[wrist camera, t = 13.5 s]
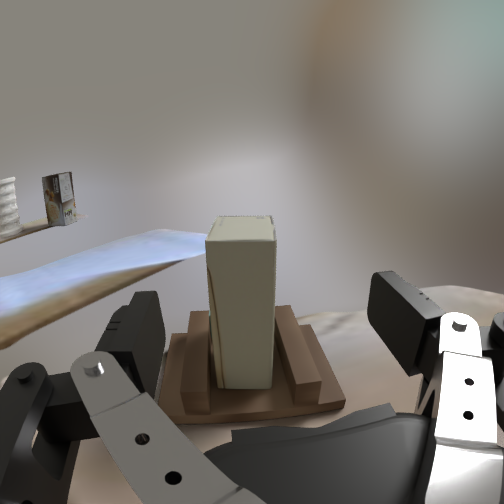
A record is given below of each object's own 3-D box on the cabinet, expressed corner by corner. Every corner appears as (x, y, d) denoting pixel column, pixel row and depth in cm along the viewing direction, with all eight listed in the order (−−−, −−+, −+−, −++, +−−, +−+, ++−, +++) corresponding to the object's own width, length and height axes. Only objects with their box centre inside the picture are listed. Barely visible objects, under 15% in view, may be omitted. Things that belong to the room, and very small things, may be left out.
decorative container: (-4, 240, 71) (-13, 183, 65) (-8, 236, 77) (-16, 184, 71) (26, 230, 80) (18, 175, 74) (19, 227, 86) (12, 177, 80)
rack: (309, 332, 31) (311, 303, 30) (343, 407, 21) (351, 375, 20) (173, 341, 30) (168, 312, 29) (159, 423, 20) (148, 391, 19)
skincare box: (224, 344, 28) (215, 215, 24) (272, 344, 28) (273, 213, 24) (216, 391, 22) (200, 239, 18) (274, 392, 22) (277, 237, 18)
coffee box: (78, 221, 87) (72, 171, 82) (65, 226, 81) (58, 174, 76) (60, 221, 89) (54, 174, 83) (47, 226, 83) (40, 177, 77)
